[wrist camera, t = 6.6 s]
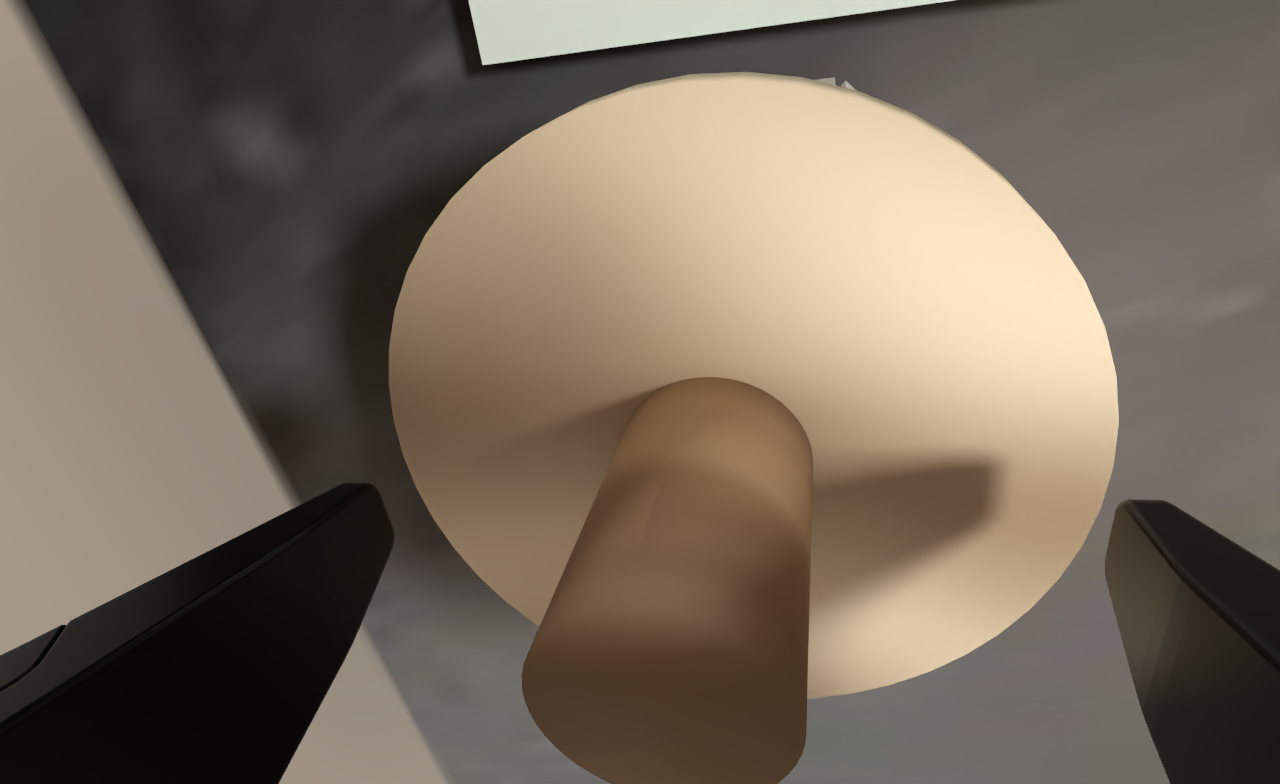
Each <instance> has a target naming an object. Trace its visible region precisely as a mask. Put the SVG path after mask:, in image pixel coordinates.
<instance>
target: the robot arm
mask: <svg viewBox="0 0 1280 784" xmlns="http://www.w3.org/2000/svg"><path fill="white" fill-rule="evenodd" d="M393 544H394V530H393V527H392V524H391V521H390V519H389V516H388V513H387V511H386V508H385V505H384V503H383V500H382V497H381V495H380V492H379V490H378V489H377V488H376V487H375V486H374V485H372V484H370V483H344V484H341V485H339V486H337V487H335V488H333V489H331V490H329V491H327V492H325V493H323V494H321V495H319V496H317V497H315V498H313V499H311V500H309V501H307V502H305V503H303V504H301V505H299V506H297V507H295V508H293V509H291V510H289V511H287V512H285V513H284V514H282V515H279V516H277V517H275V518H273V519H272V520H270V521H268V522H266V523H264V524H262V525H260V526H258V527H256V528H254V529H252V530H250V531H248V532H246V533H244V534H242V535H240V536H238V537H236V538H234V539H232V540H230V541H228V542H226V543H224V544H222V545H220V546H218V547H216V548H214V549H212V550H210V551H208V552H206V553H204V554H202V555H200V556H198V557H196V558H194V559H192V560H190V561H188V562H186V563H184V564H182V565H180V566H178V567H176V568H174V569H172V570H170V571H168V572H166V573H164V574H162V575H161V576H158V577H156V578H154V579H152V580H150V581H148V582H146V583H144V584H142V585H140V586H138V587H137V588H134V589H133V590H131V591H129V592H127V593H124V594H123V595H121V596H119V597H117V598H115V599H113V600H111V601H109V602H107V603H105V604H103V605H101V606H99V607H97V608H95V609H93V610H91V611H89V612H87V613H85V614H83V615H81V616H79V617H77V618H75V619H73V620H71V621H70V622H69V623H68V624H67V625H61V626H59V627H57V628H55V629H53V630H51V631H49V632H47V633H45V634H43V635H41V636H39V637H37V638H35V639H33V640H31V641H29V642H27V643H25V644H23V645H21V646H19V647H17V648H15V649H13V650H11V651H8V652H6V653H4V654H2V655H0V784H279V782H280V780H281V778H282V776H283V774H284V772H285V771H286V769H287V767H288V765H289V763H290V761H291V759H292V757H293V756H294V754H295V752H296V750H297V748H298V746H299V744H300V742H301V741H302V739H303V737H304V735H305V733H306V731H307V729H308V727H309V726H310V724H311V722H312V720H313V718H314V716H315V714H316V712H317V711H318V709H319V707H320V705H321V703H322V701H323V699H324V697H325V695H326V694H327V692H328V690H329V688H330V686H331V684H332V682H333V680H334V679H335V677H336V675H337V673H338V671H339V669H340V667H341V666H342V664H343V662H344V660H345V658H346V656H347V654H348V652H349V650H350V648H351V646H352V644H353V641H354V639H355V637H356V635H357V633H358V630H359V628H360V626H361V623H362V621H363V618H364V616H365V614H366V611H367V609H368V606H369V604H370V602H371V599H372V597H373V594H374V592H375V589H376V587H377V585H378V582H379V580H380V577H381V575H382V573H383V570H384V568H385V565H386V563H387V560H388V558H389V556H390V553H391V551H392V548H393ZM1105 576H1106V581H1107V585H1108V589H1109V593H1110V597H1111V600H1112V604H1113V608H1114V611H1115V615H1116V619H1117V622H1118V626H1119V630H1120V634H1121V637H1122V641H1123V645H1124V648H1125V652H1126V656H1127V660H1128V663H1129V667H1130V671H1131V674H1132V678H1133V682H1134V686H1135V689H1136V693H1137V696H1138V699H1139V703H1140V706H1141V710H1142V713H1143V716H1144V718H1145V721H1146V724H1147V726H1148V729H1149V732H1150V734H1151V737H1152V740H1153V742H1154V744H1155V747H1156V749H1157V752H1158V754H1159V757H1160V759H1161V762H1162V764H1163V767H1164V769H1165V772H1166V774H1167V777H1168V779H1169V782H1170V784H1280V570H1278V569H1277V568H1275V567H1273V566H1272V565H1270V564H1269V563H1267V562H1265V561H1264V560H1262V559H1260V558H1259V557H1257V556H1256V555H1254V554H1252V553H1251V552H1249V551H1247V550H1246V549H1244V548H1243V547H1241V546H1239V545H1238V544H1236V543H1234V542H1233V541H1231V540H1230V539H1228V538H1226V537H1225V536H1223V535H1221V534H1220V533H1218V532H1217V531H1215V530H1213V529H1212V528H1210V527H1208V526H1207V525H1205V524H1204V523H1202V522H1200V521H1199V520H1197V519H1195V518H1194V517H1192V516H1191V515H1189V514H1187V513H1186V512H1184V511H1182V510H1181V509H1179V508H1178V507H1176V506H1174V505H1173V504H1171V503H1169V502H1167V501H1163V500H1130V499H1128V500H1124V501H1122V502H1121V503H1119V505H1118V507H1117V508H1116V511H1115V515H1114V520H1113V524H1112V529H1111V534H1110V538H1109V543H1108V548H1107V552H1106V557H1105Z"/></svg>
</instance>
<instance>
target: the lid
mask: <svg viewBox="0 0 1280 784" xmlns="http://www.w3.org/2000/svg"><path fill="white" fill-rule="evenodd" d="M389 390H390V397H391V405H392V412H393V420H394V424H395V428H396V431H397V435H398V439H399V442H400V446H401V450H402V453H403V457H404V459H405V461H406V464H407V466H408V469H409V471H410V474H411V476H412V478H413V481H414V483H415V486H416V488H417V490H418V492H419V494H420V496H421V497H422V499H423V501H424V503H425V505H426V506H427V508H428V510H429V512H430V514H431V515H432V517H433V519H434V521H435V522H436V523H437V525H438V526H439V528H440V529H441V531H442V532H443V533H444V535H445V536H446V538H447V539H448V540H449V542H450V543H451V545H452V546H453V547H454V549H455V550H456V551H457V552H458V553H459V555H460V556H461V557H462V558H463V559H464V560H465V561H466V563H467V564H468V565H469V566H470V567H471V568H472V569H473V571H474V572H475V573H476V574H477V575H478V576H479V577H480V578H481V579H482V580H483V581H484V582H485V583H486V584H487V585H488V586H490V587H491V588H492V589H493V590H494V591H495V592H496V593H497V594H498V595H499V596H500V597H501V598H502V599H503V600H505V601H506V602H507V603H508V604H510V605H511V606H512V607H514V608H515V609H516V610H518V611H519V612H520V613H521V614H523V615H524V616H525V617H527V618H528V619H529V620H530V621H532V622H533V623H535V624H536V625H538V626H539V629H538V631H537V634H536V636H535V638H534V641H533V643H532V645H531V648H530V650H529V652H528V655H527V657H526V660H525V662H524V666H523V672H522V690H523V694H524V699H525V702H526V704H527V707H528V710H529V712H530V714H531V716H532V717H533V719H534V721H535V723H536V724H537V726H538V727H539V728H540V730H541V731H542V732H543V734H544V735H545V736H546V737H547V738H548V739H549V740H550V742H551V743H552V744H553V745H554V746H555V747H556V748H557V749H559V750H560V751H561V752H562V753H563V754H564V755H565V756H567V757H568V758H569V759H571V760H572V761H573V762H575V763H576V764H577V765H579V766H580V767H582V768H584V769H585V770H587V771H588V772H590V773H592V774H593V775H595V776H597V777H599V778H601V779H603V780H605V781H607V782H609V783H612V784H777V783H778V782H780V781H781V780H782V779H783V778H784V777H786V776H787V775H788V774H789V773H790V772H791V770H792V769H793V768H794V767H795V766H796V764H797V762H798V760H799V759H800V757H801V755H802V752H803V749H804V745H805V740H806V720H807V698H820V697H828V696H836V695H844V694H852V693H857V692H861V691H865V690H870V689H874V688H879V687H883V686H887V685H892V684H895V683H898V682H901V681H903V680H906V679H909V678H912V677H915V676H918V675H921V674H924V673H927V672H930V671H932V670H934V669H936V668H938V667H940V666H943V665H945V664H947V663H949V662H951V661H953V660H956V659H958V658H960V657H962V656H964V655H966V654H968V653H969V652H971V651H972V650H974V649H976V648H977V647H979V646H981V645H982V644H984V643H986V642H987V641H989V640H990V639H992V638H994V637H995V636H997V635H999V634H1000V633H1001V632H1002V631H1004V630H1005V629H1006V628H1007V627H1009V626H1010V625H1011V624H1012V623H1014V622H1015V621H1016V620H1017V619H1019V618H1020V617H1021V616H1022V615H1024V614H1025V613H1026V612H1027V611H1029V610H1030V609H1031V608H1032V607H1033V606H1034V605H1035V604H1036V603H1037V601H1038V600H1039V599H1040V598H1041V597H1042V596H1043V595H1044V594H1045V593H1046V592H1047V591H1048V590H1049V589H1050V588H1051V587H1052V586H1053V585H1054V584H1055V583H1056V582H1057V581H1058V579H1059V578H1060V576H1061V575H1062V574H1063V572H1064V571H1065V569H1066V568H1067V567H1068V565H1069V564H1070V562H1071V561H1072V560H1073V558H1074V557H1075V555H1076V554H1077V553H1078V551H1079V550H1080V548H1081V547H1082V545H1083V543H1084V541H1085V539H1086V537H1087V535H1088V533H1089V531H1090V529H1091V527H1092V525H1093V523H1094V521H1095V519H1096V517H1097V515H1098V513H1099V511H1100V509H1101V506H1102V503H1103V499H1104V496H1105V493H1106V490H1107V486H1108V483H1109V480H1110V476H1111V473H1112V470H1113V466H1114V458H1115V450H1116V442H1117V434H1118V426H1119V415H1118V396H1117V377H1116V372H1115V368H1114V363H1113V359H1112V355H1111V351H1110V346H1109V342H1108V338H1107V334H1106V329H1105V327H1104V324H1103V322H1102V320H1101V317H1100V315H1099V313H1098V310H1097V308H1096V306H1095V303H1094V301H1093V299H1092V296H1091V294H1090V292H1089V289H1088V287H1087V285H1086V282H1085V280H1084V279H1083V277H1082V276H1081V274H1080V272H1079V271H1078V269H1077V268H1076V266H1075V265H1074V263H1073V262H1072V260H1071V259H1070V257H1069V256H1068V254H1067V252H1066V251H1065V249H1064V248H1063V246H1062V245H1061V243H1060V242H1059V240H1058V239H1057V237H1056V235H1055V234H1054V233H1053V232H1052V231H1051V229H1050V228H1049V227H1048V226H1047V225H1046V224H1045V222H1044V221H1043V220H1042V219H1041V218H1040V217H1039V215H1038V214H1037V213H1036V212H1035V211H1034V210H1033V209H1032V207H1031V206H1030V205H1029V204H1028V203H1027V202H1026V201H1025V200H1024V199H1023V198H1022V196H1021V195H1020V194H1019V193H1018V192H1017V191H1016V190H1015V189H1014V188H1013V187H1012V185H1011V184H1010V183H1009V182H1008V181H1007V180H1006V179H1005V178H1004V177H1003V176H1002V174H1000V173H999V172H998V171H997V170H995V169H994V168H993V167H992V166H990V165H989V164H988V163H987V162H985V161H984V160H983V159H982V158H980V157H979V156H978V155H977V154H975V153H974V152H973V151H972V150H971V149H969V148H968V147H967V146H966V145H964V144H963V143H962V142H961V141H959V140H958V139H956V138H954V137H953V136H951V135H949V134H948V133H946V132H944V131H942V130H941V129H939V128H937V127H936V126H934V125H932V124H930V123H929V122H927V121H925V120H923V119H922V118H920V117H918V116H917V115H915V114H913V113H911V112H910V111H907V110H905V109H902V108H900V107H897V106H894V105H892V104H889V103H887V102H884V101H882V100H879V99H877V98H874V97H872V96H869V95H867V94H864V93H862V92H859V91H857V90H853V89H849V88H844V87H840V86H836V85H832V84H828V83H824V82H819V81H815V80H811V79H807V78H803V77H794V76H784V75H773V74H763V73H752V72H731V73H710V74H690V75H685V76H679V77H674V78H669V79H664V80H658V81H653V82H648V83H643V84H638V85H635V86H632V87H629V88H626V89H623V90H620V91H617V92H615V93H612V94H609V95H606V96H603V97H600V98H597V99H594V100H591V101H589V102H587V103H585V104H583V105H581V106H579V107H577V108H575V109H574V110H572V111H570V112H568V113H566V114H564V115H562V116H560V117H558V118H556V119H554V120H552V121H551V122H549V123H547V124H545V125H543V126H541V127H540V128H538V129H536V130H534V131H532V132H531V133H529V134H527V135H525V136H524V137H522V138H521V139H519V140H518V141H517V142H515V143H514V144H513V145H511V146H510V147H509V148H507V149H506V150H505V151H503V152H502V153H500V154H499V155H498V156H496V157H495V158H494V159H492V160H491V161H490V162H488V163H487V164H485V165H484V166H483V167H482V168H481V169H480V170H479V171H478V172H477V173H476V174H475V175H474V176H473V177H472V178H471V179H470V180H469V181H468V182H467V183H466V184H465V185H464V186H463V187H462V188H461V189H460V190H459V191H458V192H457V193H456V194H455V195H454V196H453V197H452V198H451V200H450V201H449V202H448V204H447V205H446V206H445V208H444V209H443V211H442V212H441V213H440V215H439V216H438V218H437V219H436V220H435V222H434V223H433V225H432V226H431V227H430V229H429V230H428V232H427V233H426V234H425V236H424V238H423V240H422V242H421V244H420V246H419V248H418V250H417V252H416V254H415V256H414V258H413V260H412V262H411V264H410V266H409V268H408V270H407V273H406V276H405V279H404V282H403V285H402V289H401V292H400V295H399V298H398V301H397V304H396V308H395V312H394V319H393V325H392V331H391V338H390V344H389Z"/></svg>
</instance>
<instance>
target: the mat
mask: <svg viewBox="0 0 1280 784" xmlns="http://www.w3.org/2000/svg"><path fill="white" fill-rule="evenodd" d="M468 1H469V6H470V10H471V15H472V19H473V24H474V28H475V33H476V37H477V42H478V47H479V51H480V56H481V60H482V65H489V64H496V63H504V62H511V61H518V60H525V59H533V58H540V57H547V56H554V55H562V54H569V53H576V52H584V51H591V50H598V49H605V48H613V47H620V46H627V45H634V44H642V43H649V42H656V41H664V40H671V39H678V38H685V37H693V36H700V35H707V34H714V33H722V32H729V31H736V30H744V29H751V28H758V27H765V26H773V25H780V24H787V23H794V22H802V21H809V20H816V19H824V18H831V17H838V16H845V15H853V14H860V13H867V12H874V11H882V10H889V9H896V8H904V7H911V6H918V5H925V4H933V3H940V2H947V1H954V0H468Z"/></svg>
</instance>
